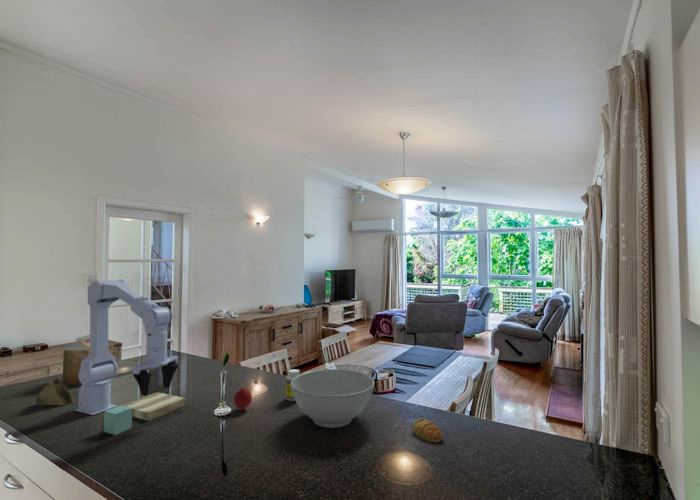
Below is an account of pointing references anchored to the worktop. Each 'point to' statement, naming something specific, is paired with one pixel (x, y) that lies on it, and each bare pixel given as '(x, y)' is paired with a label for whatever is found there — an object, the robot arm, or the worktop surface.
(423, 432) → the pastry
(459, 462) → the worktop surface
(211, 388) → the worktop surface
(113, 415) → the teal block
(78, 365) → the tan tall block
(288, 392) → the supplement bottle
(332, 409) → the decorative bowl
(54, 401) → the rock
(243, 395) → the onion
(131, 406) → the birch base board
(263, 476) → the worktop surface
